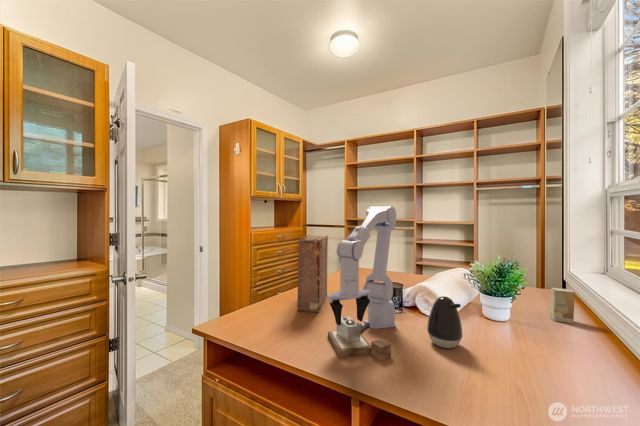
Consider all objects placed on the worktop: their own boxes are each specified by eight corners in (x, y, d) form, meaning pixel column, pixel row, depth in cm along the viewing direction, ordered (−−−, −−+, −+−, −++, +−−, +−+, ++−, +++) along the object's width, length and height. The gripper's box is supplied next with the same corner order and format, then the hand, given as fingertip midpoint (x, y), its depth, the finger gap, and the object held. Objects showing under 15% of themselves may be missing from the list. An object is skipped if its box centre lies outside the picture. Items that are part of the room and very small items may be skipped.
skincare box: (553, 321, 106) (554, 289, 106) (549, 317, 110) (549, 287, 110) (574, 323, 104) (575, 291, 104) (569, 319, 108) (569, 289, 108)
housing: (348, 331, 90) (348, 314, 90) (360, 341, 83) (360, 323, 83) (336, 333, 88) (336, 316, 88) (347, 344, 81) (347, 325, 81)
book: (309, 293, 139) (309, 234, 139) (327, 294, 137) (327, 235, 137) (297, 311, 114) (298, 239, 114) (319, 313, 112) (319, 240, 112)
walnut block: (380, 351, 82) (380, 338, 82) (390, 357, 79) (391, 343, 78) (370, 355, 80) (371, 341, 80) (381, 361, 76) (381, 347, 76)
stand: (356, 334, 93) (356, 327, 93) (372, 354, 80) (372, 346, 80) (327, 337, 90) (327, 330, 90) (339, 358, 78) (339, 350, 78)
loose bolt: (364, 325, 100) (364, 318, 101) (370, 327, 99) (370, 319, 99) (355, 331, 96) (355, 323, 96) (362, 332, 94) (361, 324, 94)
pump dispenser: (448, 356, 80) (448, 304, 79) (420, 340, 89) (420, 294, 89) (470, 348, 84) (470, 299, 84) (441, 334, 93) (442, 290, 93)
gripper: (362, 274, 92) (362, 314, 92) (323, 277, 86) (322, 320, 86) (374, 279, 85) (374, 322, 85) (332, 283, 79) (332, 329, 80)
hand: (349, 322), depth 85 cm, fingers open, 7 cm apart
